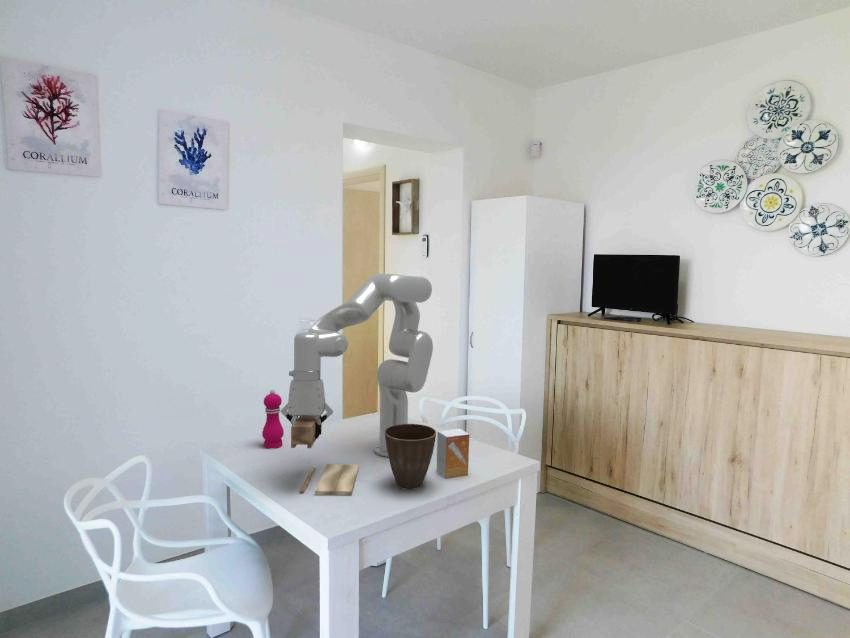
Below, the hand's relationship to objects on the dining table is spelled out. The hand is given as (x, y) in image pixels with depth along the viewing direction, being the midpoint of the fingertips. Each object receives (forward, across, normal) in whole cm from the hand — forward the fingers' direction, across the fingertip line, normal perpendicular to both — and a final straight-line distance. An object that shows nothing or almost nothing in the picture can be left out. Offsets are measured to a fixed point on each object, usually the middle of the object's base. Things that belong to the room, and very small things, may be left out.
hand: (306, 436), depth 161 cm
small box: (+13, +43, +7) cm, 46 cm away
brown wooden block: (+1, 0, 0) cm, 1 cm away
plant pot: (+13, +30, -2) cm, 33 cm away
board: (+14, +7, 0) cm, 15 cm away
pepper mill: (+14, -18, +30) cm, 38 cm away
